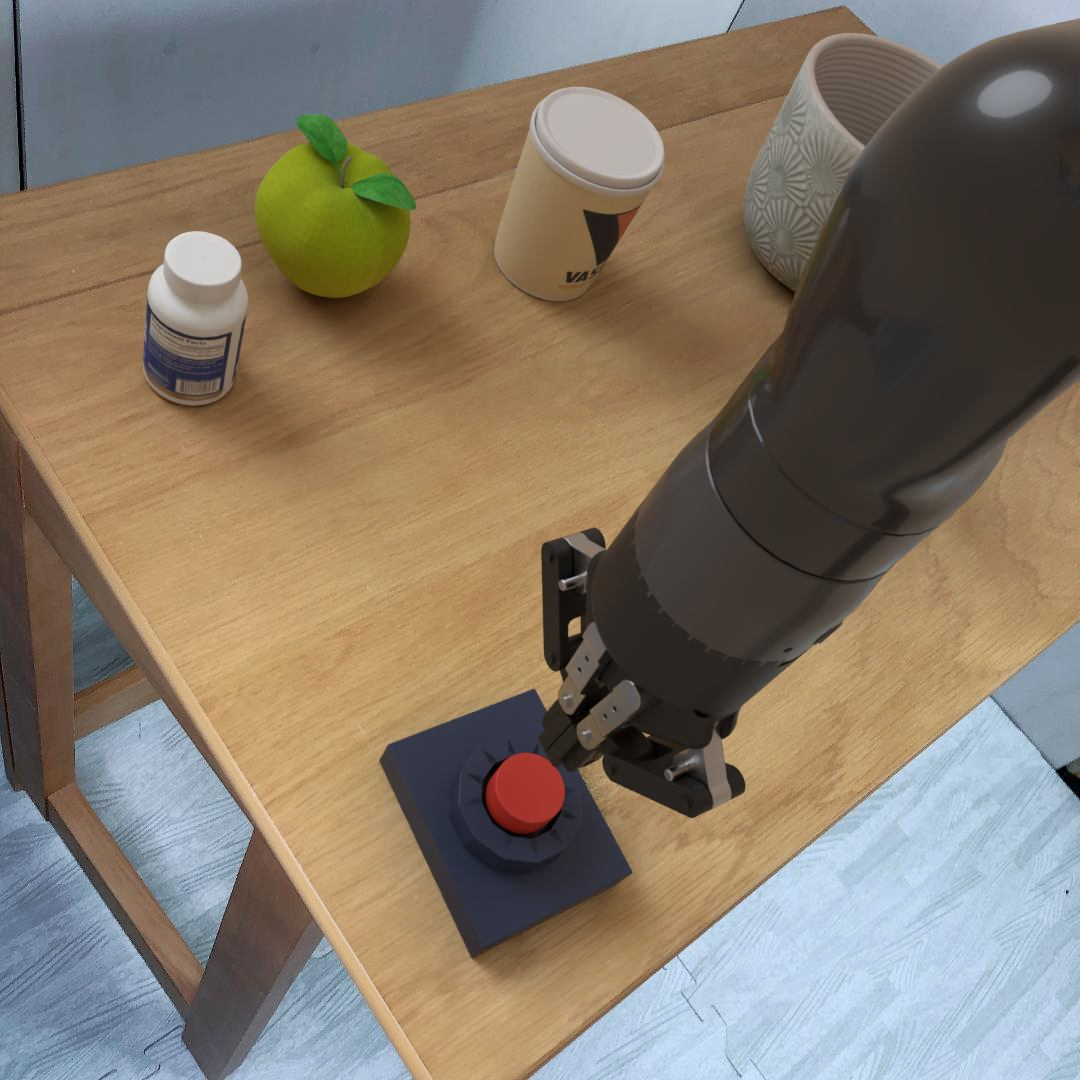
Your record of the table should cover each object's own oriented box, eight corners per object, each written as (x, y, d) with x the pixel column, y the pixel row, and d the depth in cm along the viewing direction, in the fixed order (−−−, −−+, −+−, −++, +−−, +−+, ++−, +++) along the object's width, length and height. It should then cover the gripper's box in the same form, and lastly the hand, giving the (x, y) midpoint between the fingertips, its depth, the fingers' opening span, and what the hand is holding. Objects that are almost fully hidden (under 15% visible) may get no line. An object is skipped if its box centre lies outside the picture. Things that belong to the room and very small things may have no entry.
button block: (617, 884, 61) (647, 861, 58) (471, 958, 56) (495, 938, 53) (522, 704, 65) (545, 673, 62) (378, 760, 60) (395, 730, 57)
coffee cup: (561, 331, 82) (626, 204, 72) (457, 253, 82) (508, 117, 73) (624, 270, 87) (692, 144, 78) (526, 198, 88) (581, 64, 78)
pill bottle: (178, 324, 71) (190, 205, 63) (252, 370, 71) (274, 257, 63) (122, 376, 68) (128, 257, 60) (200, 424, 68) (216, 311, 60)
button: (565, 818, 58) (578, 806, 57) (505, 846, 56) (516, 834, 55) (532, 755, 59) (544, 742, 58) (473, 780, 58) (483, 767, 56)
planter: (684, 179, 96) (773, 18, 84) (848, 192, 103) (951, 44, 91) (756, 337, 88) (864, 185, 76) (927, 339, 95) (1051, 200, 83)
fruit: (321, 205, 80) (349, 86, 72) (414, 293, 79) (453, 181, 71) (217, 254, 75) (235, 131, 67) (315, 348, 73) (345, 234, 66)
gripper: (557, 423, 39) (428, 648, 53) (763, 771, 35) (563, 917, 48) (723, 382, 43) (562, 602, 57) (927, 691, 38) (698, 847, 52)
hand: (562, 747), depth 52 cm, fingers closed
